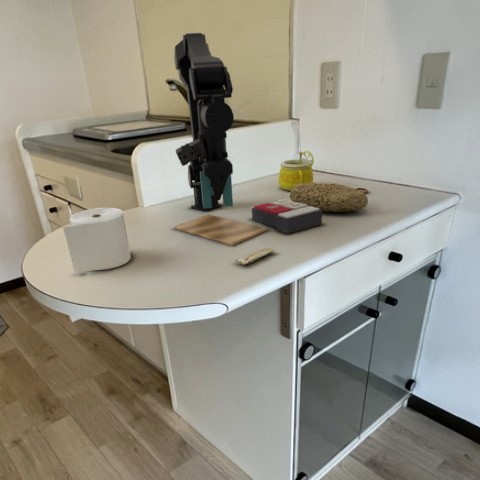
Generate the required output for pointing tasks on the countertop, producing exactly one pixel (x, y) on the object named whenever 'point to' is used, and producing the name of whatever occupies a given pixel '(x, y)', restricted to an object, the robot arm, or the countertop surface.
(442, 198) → the countertop surface
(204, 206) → the letter H
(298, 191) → the sponge
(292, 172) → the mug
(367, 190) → the key
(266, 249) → the snack bar
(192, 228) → the wooden board
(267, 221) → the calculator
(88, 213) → the toilet tissue
